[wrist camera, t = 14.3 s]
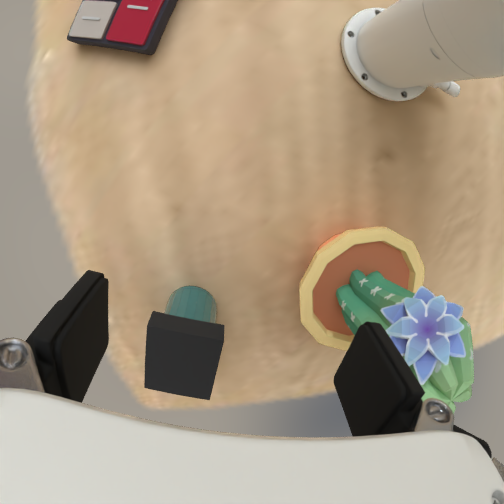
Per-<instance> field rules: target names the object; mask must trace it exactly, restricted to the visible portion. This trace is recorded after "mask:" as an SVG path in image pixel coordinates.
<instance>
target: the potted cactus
mask: <svg viewBox="0 0 504 504" xmlns="http://www.w3.org/2000/svg"><path fill="white" fill-rule="evenodd" d="M424 273H425V267H424V265H423V263H422V260H421V258H420V256H419V253H418V251H417V249H416V247H415V244H414V242H412V241H410V240H409V239H407V238H405V237H403V236H401V235H399V234H398V233H396V232H394V231H392V230H390V229H388V228H386V227H381V226H379V227H370V228H362V229H353V230H346V231H345V232H344V233H342V234H337V235H334V236H333V237H331V238H330V239H329V240H327V241H326V242H324V243H323V244H322V245H320V246H319V248H318V250H317V252H316V253H315V255H314V257H313V259H312V261H311V263H310V265H309V267H308V269H307V270H306V272H305V274H304V276H303V278H302V280H301V282H300V284H299V295H300V316H301V323H302V324H303V325H304V326H305V328H306V329H307V330H308V331H309V332H310V334H311V335H312V336H313V337H314V338H315V340H316V341H317V342H318V343H319V344H322V345H326V346H329V347H333V348H337V349H341V350H344V351H347V350H348V348H349V346H350V344H351V342H352V340H353V338H354V336H355V334H356V332H357V330H358V328H359V326H360V325H363V324H364V323H365V322H367V321H368V322H376V323H380V324H381V325H382V327H383V328H384V329H385V331H386V332H387V334H388V335H389V337H390V338H391V340H392V341H393V343H394V344H395V346H396V347H397V349H398V350H399V352H400V354H401V355H402V357H403V358H404V360H405V361H406V363H407V364H408V366H409V367H410V369H411V371H412V372H413V374H414V375H415V377H416V378H417V380H418V382H419V383H420V385H421V386H422V388H423V390H424V391H425V394H424V395H423V397H422V398H421V399H422V401H423V402H424V400H426V399H428V398H436V399H439V400H441V401H443V402H444V403H446V404H447V405H448V406H449V407H450V408H451V410H452V412H453V414H454V411H455V409H456V407H455V405H454V402H453V401H455V402H463V401H467V400H469V399H470V397H471V396H472V389H471V384H472V383H474V369H473V368H474V366H473V345H472V336H471V328H470V325H469V323H468V322H467V321H466V320H465V319H463V318H462V317H461V316H462V313H463V307H462V306H460V305H458V304H455V303H451V302H446V300H445V298H444V296H442V295H440V296H437V297H436V296H435V295H434V294H433V293H432V292H431V291H430V290H428V289H427V288H425V287H424V286H423V280H424Z"/></svg>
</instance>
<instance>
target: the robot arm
mask: <svg viewBox="0 0 504 504" xmlns="http://www.w3.org/2000/svg"><path fill="white" fill-rule="evenodd" d="M348 35H350V37H349V36H348ZM341 47H342V54H343V57H344V60H345V63H346V65H347V67H348V69H349V71H350V72H351V74H352V75H353V76H354V78H355V79H356V80H357V81H358V82H359V83H360V84H361V85H362V86H363V87H364V88H365V89H366V90H368V91H369V92H370V93H372V94H374V95H376V96H378V97H379V98H382V99H386V100H389V101H406V100H411V99H413V98H415V97H418V96H419V95H420V94H421V93H423V92H424V91H425V89H426V88H427V87H428V86H431V87H433V88H440V89H442V90H443V91H444V92H446V93H447V94H449V95H451V96H452V97H457V96H458V95H459V93H460V86H459V85H458V84H456V83H455V82H453V81H459V80H469V79H480V78H495V77H501V76H504V0H399V1H397V2H396V3H394V4H393V5H391V6H390V7H388V8H387V9H384V8H369V9H365V10H362V11H360V12H358V13H357V14H355V15H354V16H353V17H352V18H351V19H350V20H349V21H348V22H347V24H346V26H345V27H344V30H343V33H342V39H341ZM362 76H363V78H364V79H362ZM401 94H402V95H401ZM108 341H109V334H108V279H106V278H104V274H103V273H99V272H95V271H90V270H88V271H87V272H86V273H85V274H84V275H83V276H82V277H81V278H80V279H79V281H78V282H77V283H76V284H75V285H74V286H73V287H72V289H71V290H70V291H69V292H68V293H67V294H66V295H65V297H64V298H63V299H62V300H59V301H58V302H57V303H56V304H55V305H54V307H53V308H52V309H51V310H50V311H49V312H48V314H47V315H46V316H45V317H44V318H43V320H42V321H41V322H40V323H39V325H38V326H37V327H36V328H35V330H34V331H33V332H32V333H31V335H30V336H29V337H28V338H27V340H26V341H24V340H22V339H18V338H6V339H3V340H0V504H504V465H503V464H502V463H500V462H499V461H498V460H497V459H496V458H493V459H492V460H491V450H490V448H489V446H488V444H487V443H486V442H485V441H484V440H481V439H479V438H478V437H476V436H474V435H472V434H470V433H468V432H466V431H464V430H463V429H461V428H459V427H457V426H455V425H453V424H454V414H453V412H452V410H451V408H450V407H449V406H448V405H447V404H446V403H444V402H443V401H441V400H439V399H436V398H428V399H426V400H424V402H423V401H422V399H421V398H422V397H423V395H424V394H425V391H424V390H423V388H422V386H421V385H420V383H419V382H418V380H417V378H416V377H415V375H414V374H413V372H412V371H411V369H410V367H409V366H408V364H407V363H406V361H405V360H404V358H403V357H402V355H401V354H400V352H399V350H398V349H397V347H396V346H395V344H394V343H393V341H392V340H391V338H390V337H389V335H388V334H387V332H386V331H385V329H384V328H383V327H382V325H381V324H380V323H376V322H368V321H367V322H365V323H364V324H363V325H360V326H359V328H358V330H357V332H356V334H355V336H354V338H353V340H352V342H351V344H350V346H349V348H348V350H347V352H346V354H345V356H344V358H343V360H342V362H341V364H340V366H339V368H338V370H337V372H336V374H335V376H334V385H335V388H336V390H337V393H338V396H339V399H340V402H341V404H342V407H343V410H344V412H345V416H346V418H347V421H348V424H349V427H350V430H351V433H352V435H353V437H323V438H310V437H307V438H306V437H300V438H299V437H274V436H258V435H246V434H234V433H226V432H218V431H217V432H216V431H209V430H202V429H195V428H189V427H183V426H177V425H172V424H166V423H161V422H156V421H151V420H147V419H142V418H138V417H134V416H130V415H125V414H120V413H117V412H113V411H109V410H105V409H102V408H98V407H94V406H91V405H88V404H84V403H82V401H83V399H84V396H85V394H86V392H87V389H88V387H89V385H90V383H91V381H92V379H93V376H94V374H95V372H96V370H97V368H98V366H99V363H100V361H101V359H102V357H103V355H104V353H105V351H106V349H107V346H108Z"/></svg>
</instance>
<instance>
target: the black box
mask: <svg viewBox="0 0 504 504" xmlns="http://www.w3.org/2000/svg"><path fill="white" fill-rule="evenodd" d="M223 343H224V325H221V324H216V323H210V322H205V321H199V320H194V319H189V318H184V317H179V316H174V315H169V314H165V313H160V312H155V311H153V312H152V314H151V317H150V320H149V322H148V325H147V337H146V356H145V388H148V389H153V390H157V391H162V392H167V393H172V394H177V395H182V396H188V397H194V398H200V399H206V400H210V396H211V392H212V388H213V384H214V379H215V375H216V371H217V367H218V363H219V359H220V355H221V351H222V347H223Z"/></svg>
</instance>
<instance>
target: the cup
mask: <svg viewBox="0 0 504 504" xmlns="http://www.w3.org/2000/svg"><path fill="white" fill-rule="evenodd" d="M164 313H165V314H169V315H174V316H179V317H184V318H189V319H194V320H199V321H205V322H210V323H216V315H217V306H216V302H215V300H214V298H213V297H212V295H211V294H210V293H209V292H207V291H206V290H204V289H202V288H200V287H196V286H185V287H181V288H179V289H177V290H176V291H174V292H173V293H172V295H171V296H170V298H169V301H168V303H167V306H166V309H165V312H164Z"/></svg>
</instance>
